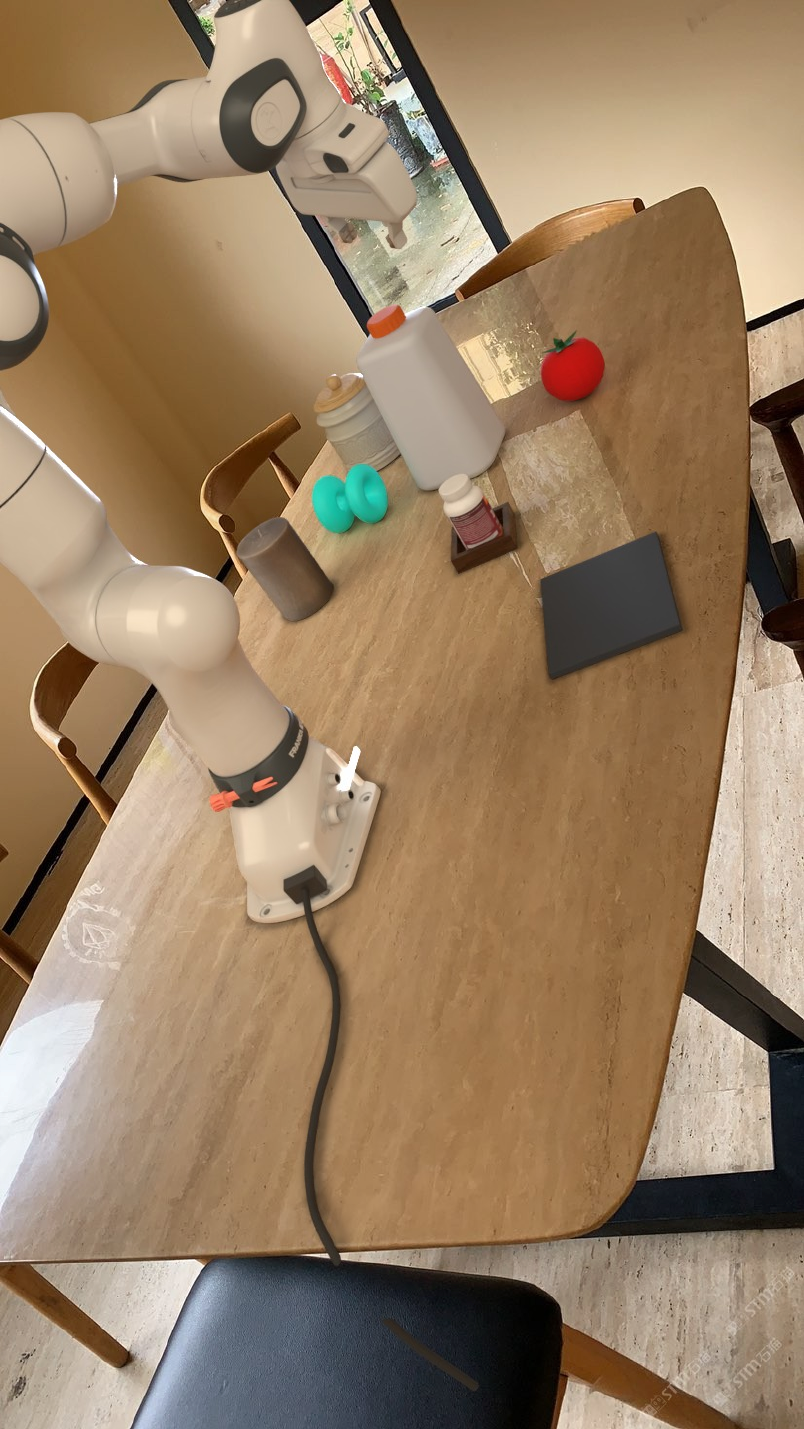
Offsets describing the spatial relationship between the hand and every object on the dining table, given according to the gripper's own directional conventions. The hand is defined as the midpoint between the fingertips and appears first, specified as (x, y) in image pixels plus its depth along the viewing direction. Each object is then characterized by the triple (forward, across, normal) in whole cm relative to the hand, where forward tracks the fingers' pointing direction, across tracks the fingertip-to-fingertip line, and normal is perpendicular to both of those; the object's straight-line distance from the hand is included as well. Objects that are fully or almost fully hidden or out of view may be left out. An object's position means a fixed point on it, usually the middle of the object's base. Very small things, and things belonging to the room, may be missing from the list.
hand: (374, 242), depth 129 cm
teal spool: (+49, -25, -12) cm, 57 cm away
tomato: (+49, -3, +24) cm, 55 cm away
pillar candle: (+45, -19, -31) cm, 58 cm away
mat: (+35, +36, -18) cm, 53 cm away
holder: (+42, +7, -12) cm, 44 cm away
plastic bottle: (+49, -16, +5) cm, 52 cm away
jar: (+54, -41, +4) cm, 68 cm away
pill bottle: (+42, +7, -12) cm, 44 cm away
